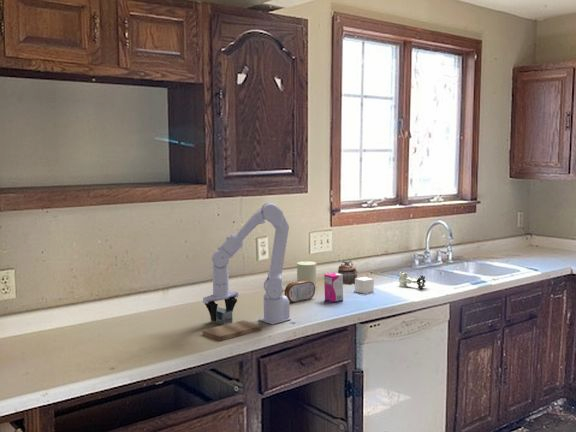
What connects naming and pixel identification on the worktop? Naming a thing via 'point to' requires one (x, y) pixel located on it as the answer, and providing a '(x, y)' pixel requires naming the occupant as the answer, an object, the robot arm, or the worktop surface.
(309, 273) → the can
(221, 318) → the block
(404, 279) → the valve
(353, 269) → the cupcake
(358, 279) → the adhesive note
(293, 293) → the tin
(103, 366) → the worktop surface
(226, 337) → the stand
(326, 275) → the supplement box
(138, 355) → the worktop surface
